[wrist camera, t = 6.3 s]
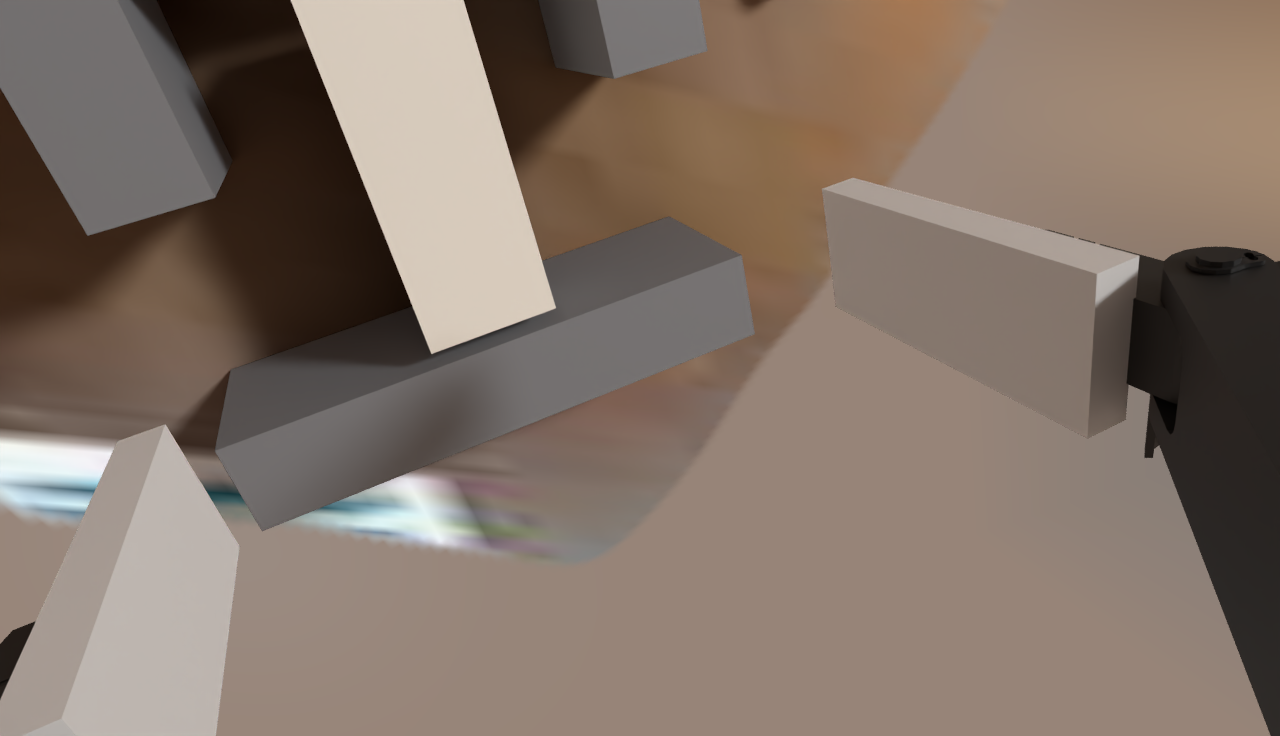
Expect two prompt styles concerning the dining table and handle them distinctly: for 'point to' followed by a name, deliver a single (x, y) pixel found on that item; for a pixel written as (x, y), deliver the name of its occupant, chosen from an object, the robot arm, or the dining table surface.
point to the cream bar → (431, 160)
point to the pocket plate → (393, 344)
